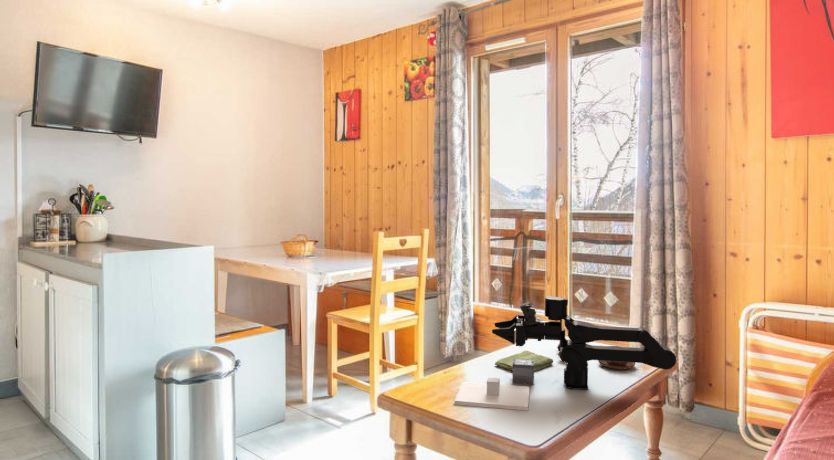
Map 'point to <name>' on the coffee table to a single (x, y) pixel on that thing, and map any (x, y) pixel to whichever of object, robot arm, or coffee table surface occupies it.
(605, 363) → the cup and saucer
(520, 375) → the dark grey framed cube
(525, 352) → the washcloth
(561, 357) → the bolt
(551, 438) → the coffee table surface
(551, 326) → the robot arm
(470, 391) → the post plate
